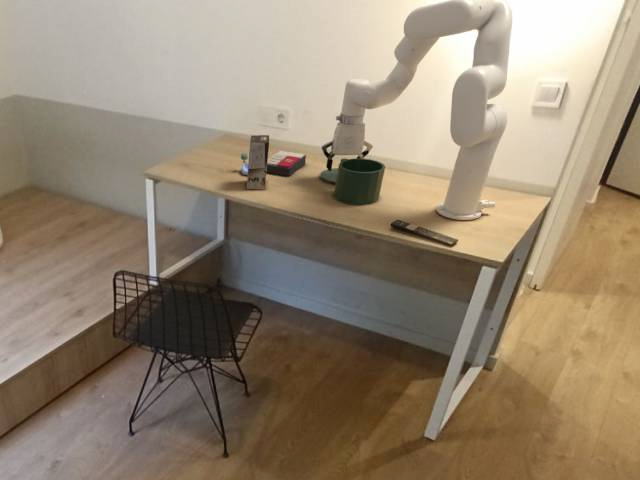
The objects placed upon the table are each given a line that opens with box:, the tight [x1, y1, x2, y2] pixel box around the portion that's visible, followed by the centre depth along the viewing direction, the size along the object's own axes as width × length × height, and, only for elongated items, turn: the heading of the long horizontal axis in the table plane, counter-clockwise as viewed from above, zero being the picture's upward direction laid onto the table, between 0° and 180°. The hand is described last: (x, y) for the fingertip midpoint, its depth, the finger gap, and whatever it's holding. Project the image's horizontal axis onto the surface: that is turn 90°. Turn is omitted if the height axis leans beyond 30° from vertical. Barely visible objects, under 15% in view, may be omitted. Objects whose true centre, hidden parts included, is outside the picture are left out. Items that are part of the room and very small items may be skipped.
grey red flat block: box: [266, 150, 307, 177], centre depth 231 cm, size 11×4×15 cm
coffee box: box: [246, 134, 270, 191], centre depth 215 cm, size 9×6×16 cm
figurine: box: [240, 152, 249, 176], centre depth 228 cm, size 8×7×7 cm
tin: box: [333, 158, 386, 206], centre depth 204 cm, size 14×14×10 cm
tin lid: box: [319, 158, 349, 184], centre depth 219 cm, size 15×15×7 cm
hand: (342, 169), depth 219 cm, fingers open, 9 cm apart
